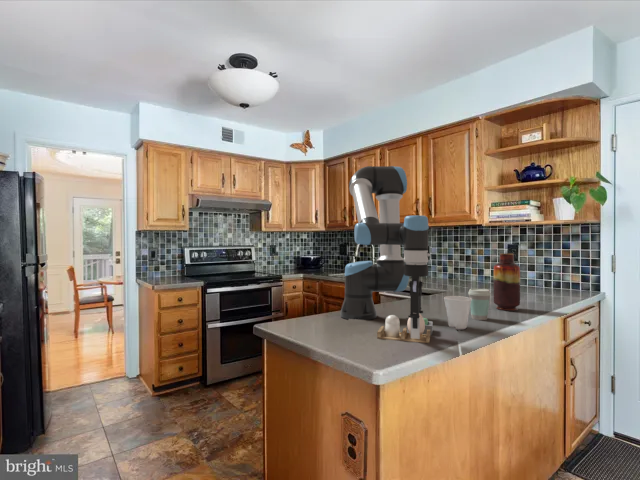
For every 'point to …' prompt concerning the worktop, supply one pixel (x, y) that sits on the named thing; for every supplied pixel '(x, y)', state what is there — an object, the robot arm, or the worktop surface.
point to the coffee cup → (479, 303)
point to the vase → (507, 283)
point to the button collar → (429, 327)
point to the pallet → (404, 336)
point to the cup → (457, 311)
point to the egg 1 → (392, 326)
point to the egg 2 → (422, 324)
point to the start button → (426, 321)
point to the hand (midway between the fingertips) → (415, 335)
